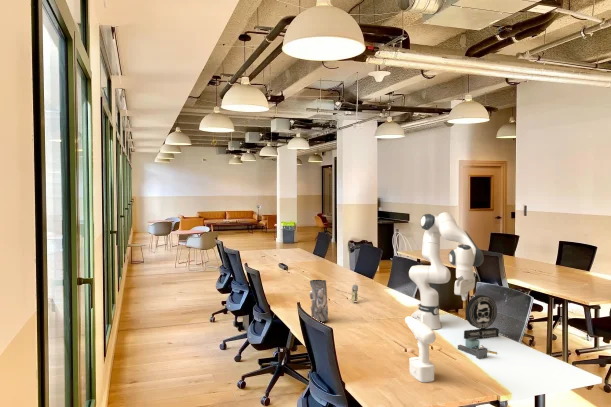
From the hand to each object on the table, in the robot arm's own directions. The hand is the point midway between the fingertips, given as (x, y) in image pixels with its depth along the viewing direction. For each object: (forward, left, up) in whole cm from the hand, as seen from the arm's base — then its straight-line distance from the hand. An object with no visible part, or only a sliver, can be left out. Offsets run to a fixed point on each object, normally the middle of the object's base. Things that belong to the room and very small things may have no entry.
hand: (464, 300), depth 246 cm
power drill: (+14, -46, -27) cm, 55 cm away
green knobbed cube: (+1, +4, -27) cm, 27 cm away
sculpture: (-85, -42, -27) cm, 99 cm away
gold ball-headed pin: (+12, +7, -27) cm, 30 cm away
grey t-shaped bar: (+7, -3, -27) cm, 28 cm away
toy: (-118, +8, -27) cm, 121 cm away
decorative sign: (-8, +23, -27) cm, 37 cm away
